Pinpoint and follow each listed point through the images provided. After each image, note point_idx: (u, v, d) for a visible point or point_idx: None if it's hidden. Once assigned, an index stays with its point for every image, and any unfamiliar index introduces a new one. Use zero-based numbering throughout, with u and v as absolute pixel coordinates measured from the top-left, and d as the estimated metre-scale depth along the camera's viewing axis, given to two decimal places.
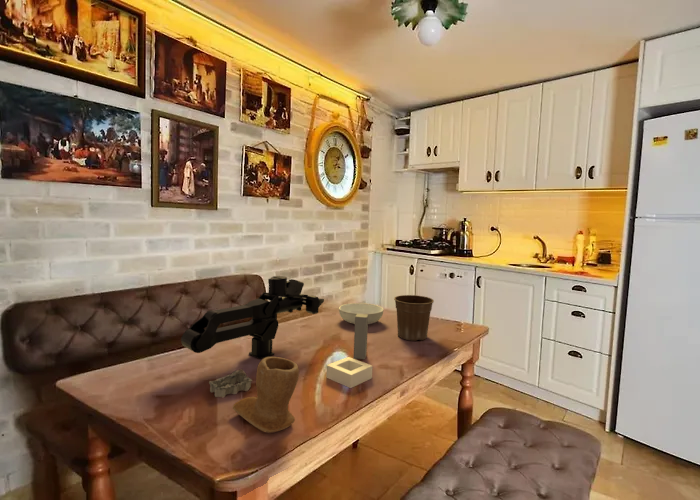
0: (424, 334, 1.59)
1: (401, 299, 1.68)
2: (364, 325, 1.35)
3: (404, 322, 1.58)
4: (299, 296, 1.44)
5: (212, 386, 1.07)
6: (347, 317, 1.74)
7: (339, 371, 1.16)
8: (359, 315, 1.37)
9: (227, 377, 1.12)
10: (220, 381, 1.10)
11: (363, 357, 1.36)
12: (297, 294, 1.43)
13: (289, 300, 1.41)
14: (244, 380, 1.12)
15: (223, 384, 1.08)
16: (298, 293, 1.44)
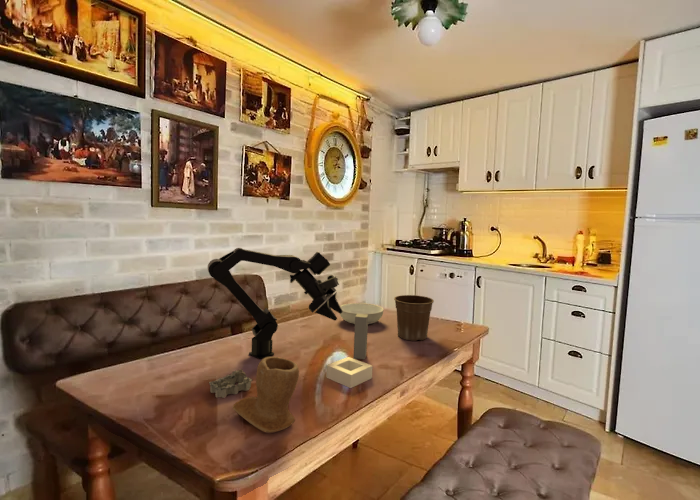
0: (424, 334, 1.59)
1: (401, 299, 1.68)
2: (364, 325, 1.35)
3: (404, 322, 1.58)
4: (321, 290, 1.36)
5: (212, 387, 1.07)
6: (347, 317, 1.74)
7: (339, 371, 1.16)
8: (359, 315, 1.37)
9: (227, 377, 1.12)
10: (220, 381, 1.10)
11: (363, 357, 1.36)
12: (321, 286, 1.36)
13: (311, 282, 1.37)
14: (244, 380, 1.12)
15: (223, 384, 1.07)
16: (323, 287, 1.36)
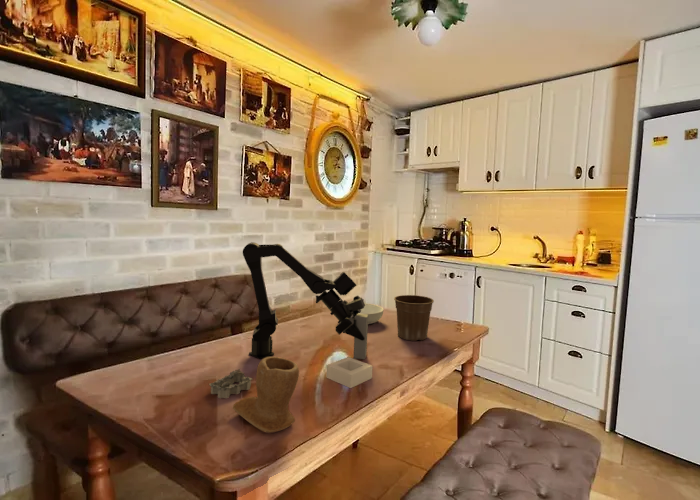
0: (424, 334, 1.59)
1: (401, 299, 1.68)
2: (364, 325, 1.35)
3: (404, 322, 1.58)
4: (347, 311, 1.35)
5: (213, 388, 1.06)
6: None
7: (339, 371, 1.16)
8: (359, 315, 1.37)
9: (225, 378, 1.12)
10: (220, 382, 1.09)
11: (363, 357, 1.36)
12: (348, 308, 1.35)
13: (338, 303, 1.36)
14: (243, 379, 1.12)
15: (225, 385, 1.07)
16: (349, 308, 1.35)
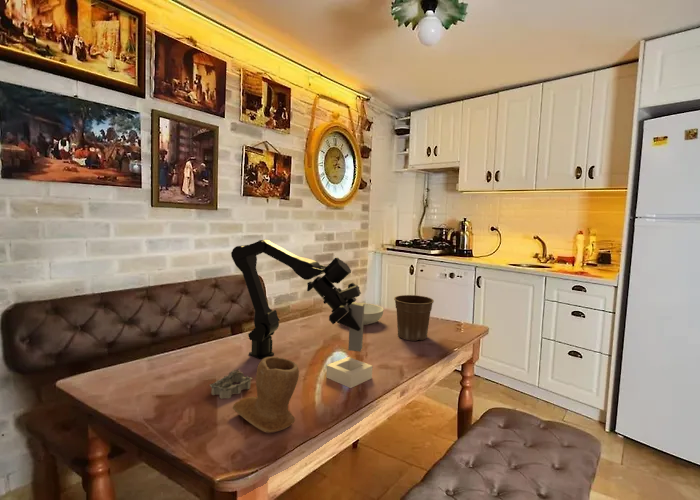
0: (424, 334, 1.59)
1: (401, 299, 1.68)
2: (360, 314, 1.25)
3: (404, 322, 1.58)
4: (342, 299, 1.24)
5: (214, 389, 1.06)
6: None
7: (339, 371, 1.16)
8: (355, 303, 1.26)
9: (225, 378, 1.11)
10: (220, 383, 1.09)
11: (359, 349, 1.26)
12: (342, 295, 1.24)
13: (331, 291, 1.25)
14: (243, 379, 1.13)
15: (226, 385, 1.07)
16: (344, 296, 1.24)
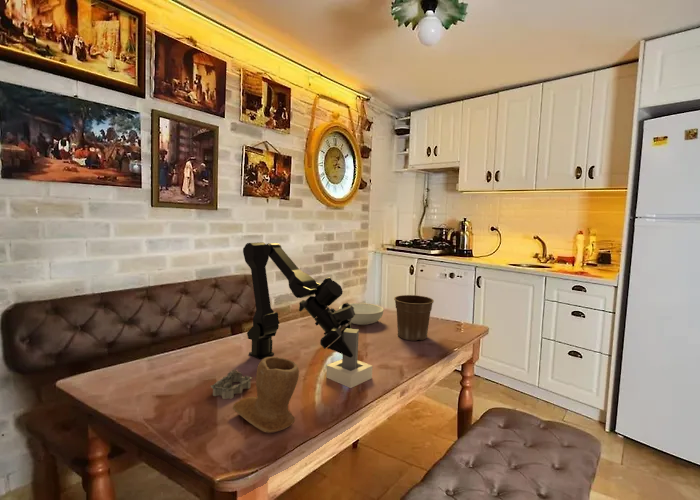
0: (424, 334, 1.59)
1: (401, 299, 1.68)
2: (354, 342, 1.17)
3: (404, 322, 1.58)
4: (335, 321, 1.17)
5: (216, 390, 1.06)
6: None
7: (339, 371, 1.16)
8: (348, 330, 1.19)
9: (224, 379, 1.11)
10: (220, 384, 1.08)
11: None
12: (335, 317, 1.17)
13: (324, 312, 1.18)
14: (242, 379, 1.13)
15: (227, 385, 1.07)
16: (337, 317, 1.17)
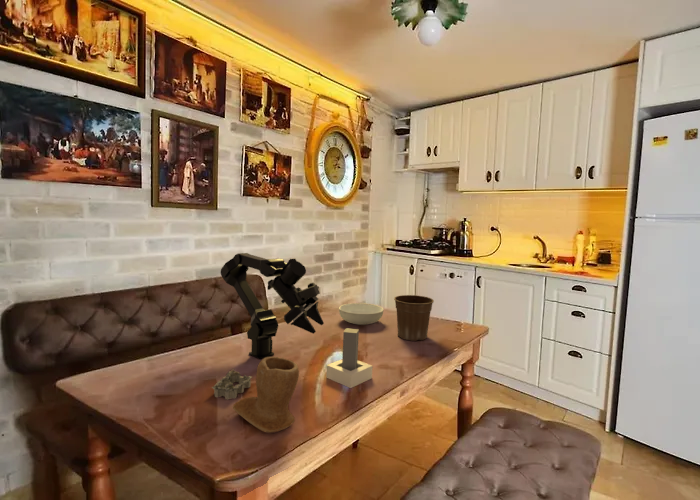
0: (424, 334, 1.59)
1: (401, 299, 1.68)
2: (354, 342, 1.17)
3: (404, 322, 1.58)
4: (299, 299, 1.23)
5: (218, 391, 1.05)
6: (347, 317, 1.74)
7: (339, 371, 1.16)
8: (348, 330, 1.19)
9: (223, 380, 1.10)
10: (221, 385, 1.08)
11: None
12: (300, 295, 1.24)
13: (289, 290, 1.24)
14: (241, 379, 1.13)
15: (229, 386, 1.07)
16: (301, 296, 1.23)
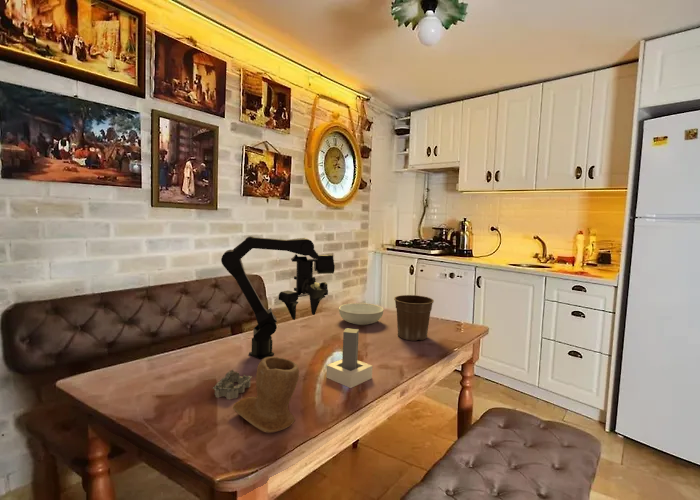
0: (424, 334, 1.59)
1: (401, 299, 1.68)
2: (354, 342, 1.17)
3: (404, 322, 1.58)
4: (303, 289, 1.34)
5: (219, 391, 1.05)
6: (347, 317, 1.74)
7: (339, 371, 1.16)
8: (348, 330, 1.19)
9: (223, 380, 1.10)
10: (221, 385, 1.08)
11: None
12: (305, 287, 1.34)
13: (302, 276, 1.35)
14: (241, 378, 1.13)
15: (230, 386, 1.07)
16: (305, 288, 1.33)
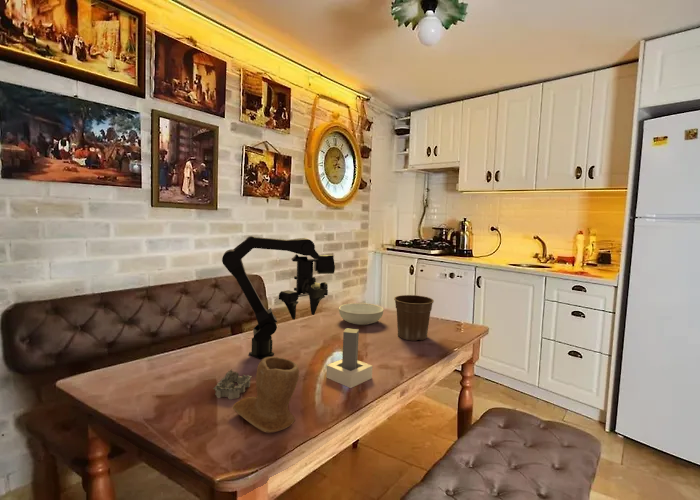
0: (424, 334, 1.59)
1: (401, 299, 1.68)
2: (354, 342, 1.17)
3: (404, 322, 1.58)
4: (303, 288, 1.34)
5: (221, 391, 1.05)
6: (347, 317, 1.74)
7: (339, 371, 1.16)
8: (348, 330, 1.19)
9: (223, 380, 1.10)
10: (221, 385, 1.08)
11: None
12: (305, 287, 1.34)
13: (303, 276, 1.35)
14: (240, 378, 1.13)
15: (231, 386, 1.07)
16: (306, 288, 1.34)
